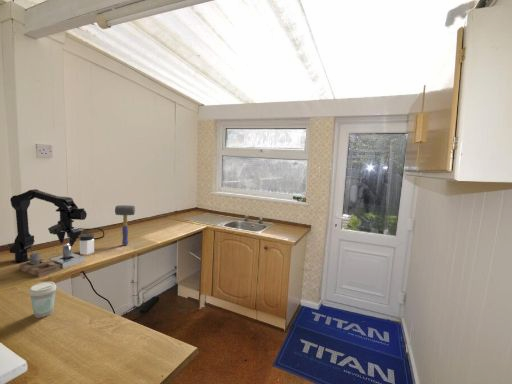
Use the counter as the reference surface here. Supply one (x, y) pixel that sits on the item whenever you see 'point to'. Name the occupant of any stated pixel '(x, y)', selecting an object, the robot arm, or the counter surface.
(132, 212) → the rubber mallet
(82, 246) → the jar
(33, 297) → the coffee cup
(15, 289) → the counter surface
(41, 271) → the rack
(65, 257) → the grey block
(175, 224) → the counter surface
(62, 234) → the robot arm
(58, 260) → the socket
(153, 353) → the counter surface
